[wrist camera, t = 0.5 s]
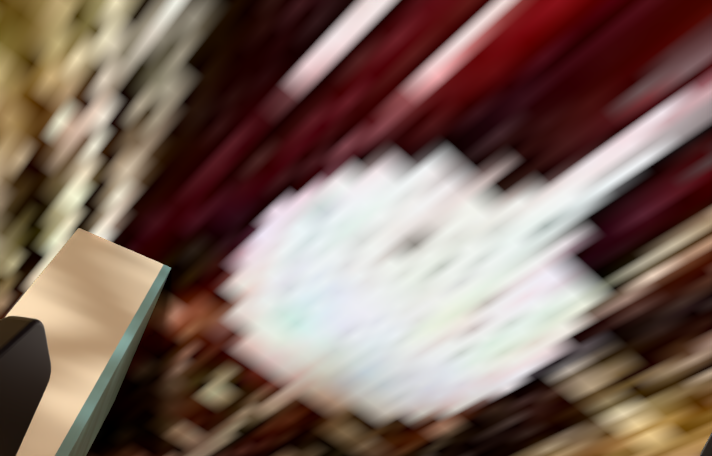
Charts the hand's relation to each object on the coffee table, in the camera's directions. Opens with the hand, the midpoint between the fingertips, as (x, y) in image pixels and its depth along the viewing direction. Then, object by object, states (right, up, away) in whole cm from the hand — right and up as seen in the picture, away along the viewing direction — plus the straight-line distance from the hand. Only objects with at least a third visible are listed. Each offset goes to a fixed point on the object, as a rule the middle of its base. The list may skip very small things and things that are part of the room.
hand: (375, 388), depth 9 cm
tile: (-10, -2, +17) cm, 20 cm away
